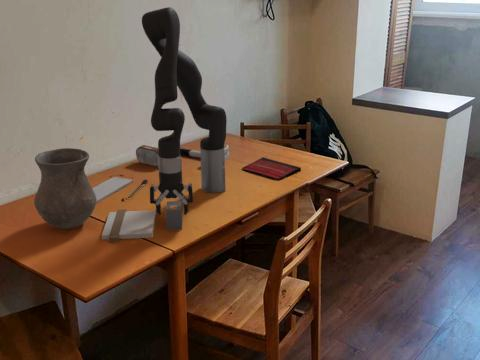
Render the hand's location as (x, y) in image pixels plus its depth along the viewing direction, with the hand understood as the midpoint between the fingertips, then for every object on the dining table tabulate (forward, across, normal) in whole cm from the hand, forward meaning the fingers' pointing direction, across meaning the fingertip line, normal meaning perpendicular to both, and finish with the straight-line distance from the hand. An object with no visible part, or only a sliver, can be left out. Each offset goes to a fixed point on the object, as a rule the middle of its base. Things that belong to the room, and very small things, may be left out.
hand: (172, 214), depth 184 cm
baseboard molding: (+5, +31, -30) cm, 44 cm away
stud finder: (+4, -1, 0) cm, 4 cm away
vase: (+4, +35, -2) cm, 36 cm away
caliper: (+4, +15, -31) cm, 35 cm away
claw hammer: (+4, -7, -72) cm, 73 cm away
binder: (+4, -39, -51) cm, 64 cm away
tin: (+4, +13, -62) cm, 63 cm away
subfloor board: (+4, +14, 0) cm, 15 cm away
